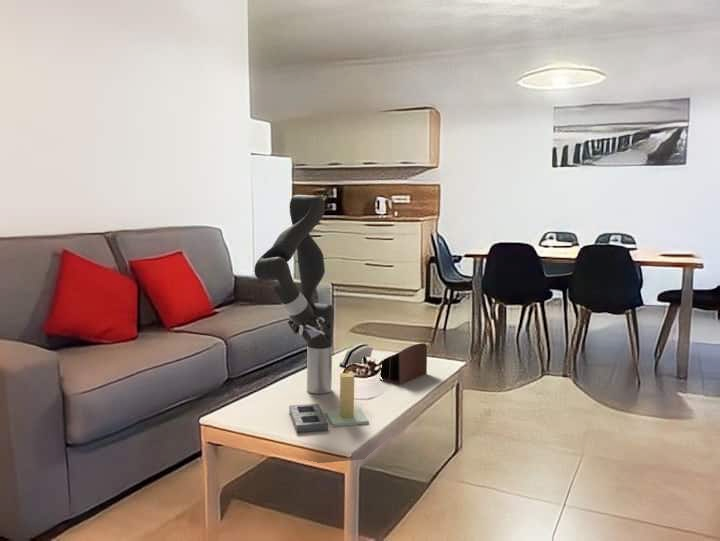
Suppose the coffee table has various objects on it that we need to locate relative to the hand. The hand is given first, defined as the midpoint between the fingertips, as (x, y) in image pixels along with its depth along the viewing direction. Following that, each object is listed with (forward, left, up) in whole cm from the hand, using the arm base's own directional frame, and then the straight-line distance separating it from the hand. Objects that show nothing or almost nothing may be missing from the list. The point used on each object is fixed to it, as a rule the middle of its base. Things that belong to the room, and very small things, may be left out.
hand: (319, 339), depth 209 cm
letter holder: (-32, +41, -26) cm, 58 cm away
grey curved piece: (-54, +27, -26) cm, 65 cm away
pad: (+8, +8, -25) cm, 28 cm away
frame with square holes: (+8, -5, -25) cm, 27 cm away
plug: (+8, +8, -24) cm, 27 cm away
